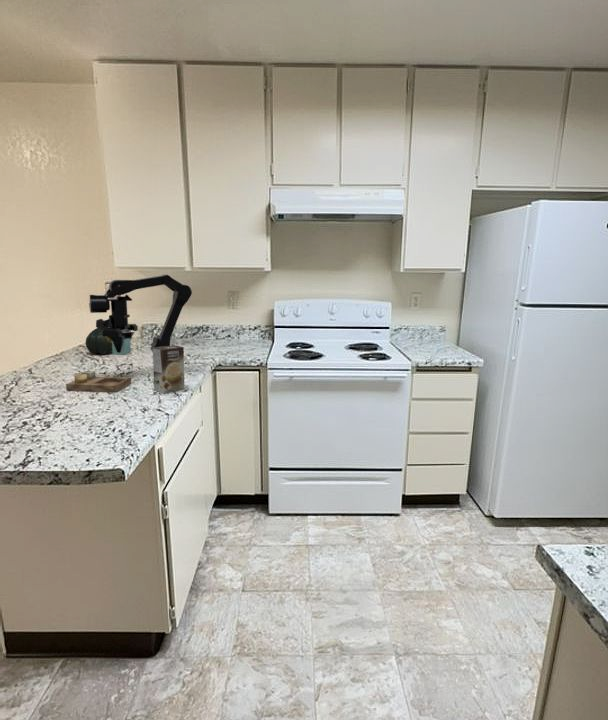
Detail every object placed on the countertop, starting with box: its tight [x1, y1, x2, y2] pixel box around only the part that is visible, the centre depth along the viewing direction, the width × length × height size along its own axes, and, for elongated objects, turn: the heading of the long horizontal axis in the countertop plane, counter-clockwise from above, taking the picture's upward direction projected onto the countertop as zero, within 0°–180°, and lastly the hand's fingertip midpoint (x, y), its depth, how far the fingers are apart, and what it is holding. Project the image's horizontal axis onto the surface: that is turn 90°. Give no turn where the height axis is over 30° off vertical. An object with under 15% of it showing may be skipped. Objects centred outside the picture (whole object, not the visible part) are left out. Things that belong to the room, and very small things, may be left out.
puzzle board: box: [65, 370, 132, 393], centre depth 150 cm, size 18×12×5 cm, turn 89°
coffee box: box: [152, 344, 185, 394], centre depth 149 cm, size 9×6×16 cm
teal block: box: [112, 338, 132, 356], centre depth 162 cm, size 5×5×6 cm
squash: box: [85, 327, 113, 356], centre depth 211 cm, size 14×15×15 cm
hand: (121, 351), depth 163 cm, fingers closed on teal block, 5 cm apart
